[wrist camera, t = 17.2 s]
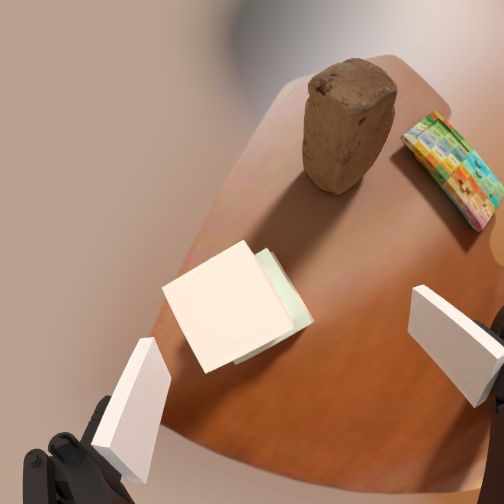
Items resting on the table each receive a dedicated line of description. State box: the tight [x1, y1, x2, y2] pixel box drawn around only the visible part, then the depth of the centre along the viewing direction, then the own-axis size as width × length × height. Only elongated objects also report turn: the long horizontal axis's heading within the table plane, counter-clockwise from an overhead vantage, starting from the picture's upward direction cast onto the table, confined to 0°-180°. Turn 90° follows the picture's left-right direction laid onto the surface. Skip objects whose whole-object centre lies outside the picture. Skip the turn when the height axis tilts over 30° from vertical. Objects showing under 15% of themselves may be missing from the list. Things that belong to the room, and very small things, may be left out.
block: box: [302, 58, 397, 195], centre depth 30 cm, size 11×8×20 cm
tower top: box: [233, 248, 312, 365], centre depth 30 cm, size 9×9×5 cm
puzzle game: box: [401, 110, 504, 232], centre depth 34 cm, size 12×5×20 cm
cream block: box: [162, 240, 294, 374], centre depth 22 cm, size 6×6×12 cm
